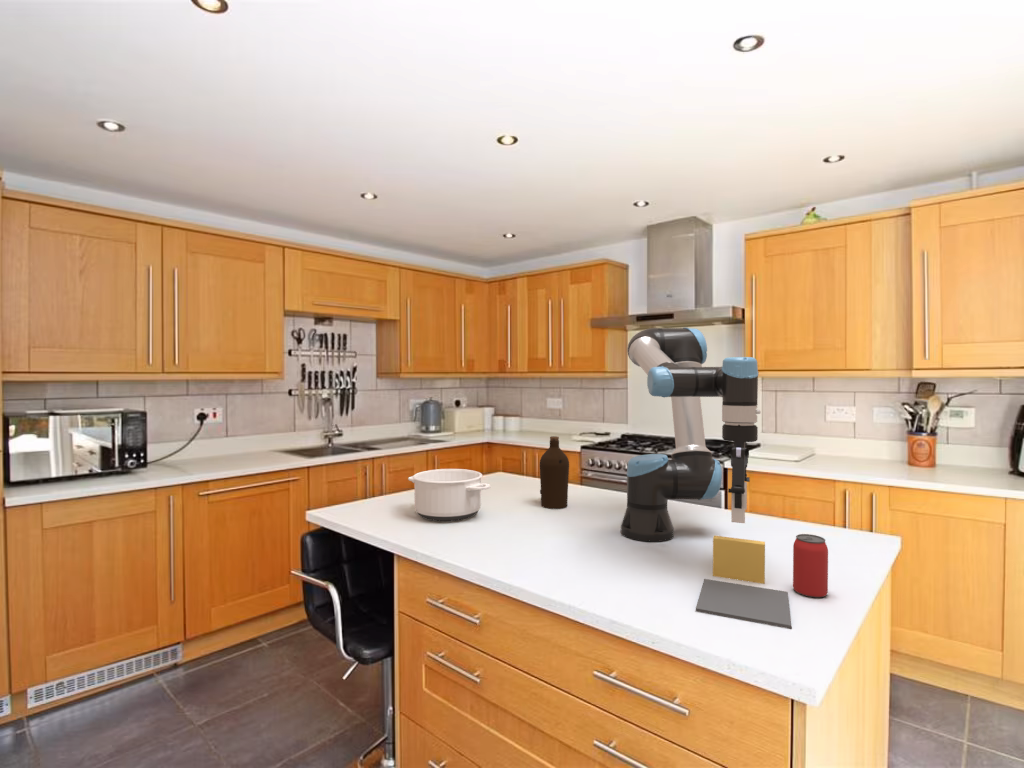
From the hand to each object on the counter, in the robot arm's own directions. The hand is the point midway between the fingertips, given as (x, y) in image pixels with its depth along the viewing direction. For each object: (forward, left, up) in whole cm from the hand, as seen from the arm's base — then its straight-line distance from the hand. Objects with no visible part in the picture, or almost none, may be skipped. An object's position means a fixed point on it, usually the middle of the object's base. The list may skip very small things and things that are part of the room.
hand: (739, 515), depth 123 cm
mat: (+1, -14, -15) cm, 20 cm away
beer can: (+14, -2, -15) cm, 21 cm away
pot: (-91, +18, -15) cm, 94 cm away
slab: (0, 0, -15) cm, 15 cm away
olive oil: (-63, +45, -15) cm, 79 cm away
